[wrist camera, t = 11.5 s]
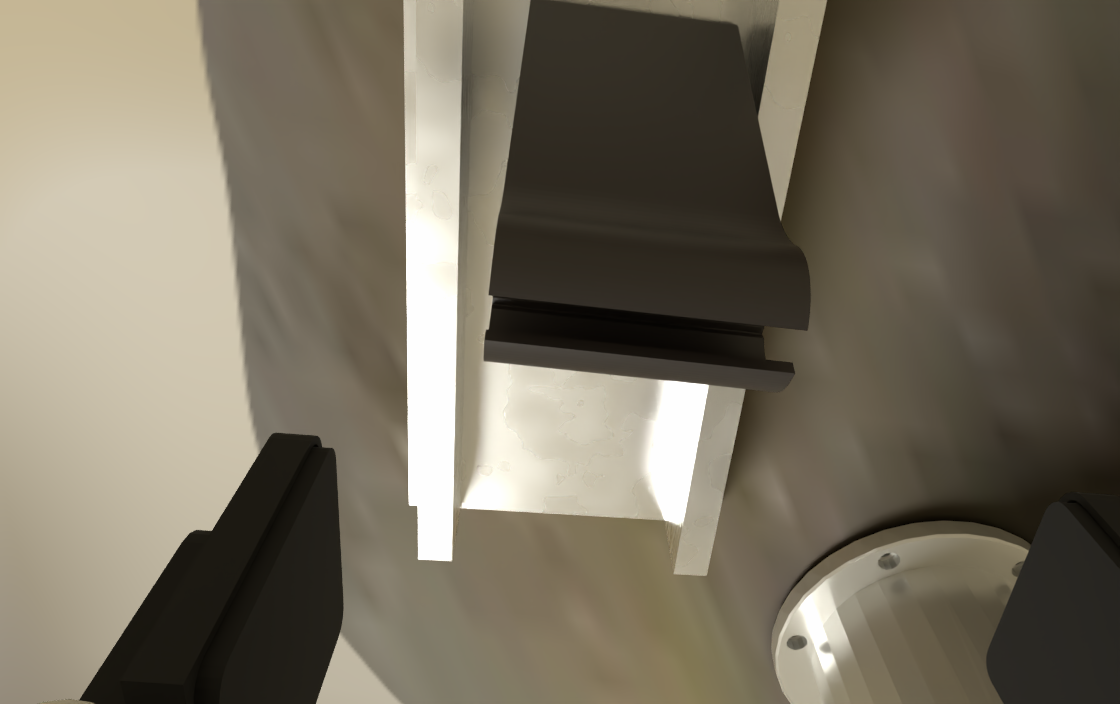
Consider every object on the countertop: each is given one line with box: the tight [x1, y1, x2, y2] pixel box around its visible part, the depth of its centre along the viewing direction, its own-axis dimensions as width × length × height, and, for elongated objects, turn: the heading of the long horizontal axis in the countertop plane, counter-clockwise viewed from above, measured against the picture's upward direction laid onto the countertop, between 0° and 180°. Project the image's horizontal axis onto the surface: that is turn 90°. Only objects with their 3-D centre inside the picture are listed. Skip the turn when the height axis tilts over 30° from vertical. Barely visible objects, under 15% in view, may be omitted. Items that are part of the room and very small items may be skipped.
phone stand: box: [483, 0, 810, 392], centre depth 21 cm, size 9×6×12 cm, turn 173°
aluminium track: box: [404, 0, 827, 576], centre depth 25 cm, size 12×28×4 cm, turn 176°
